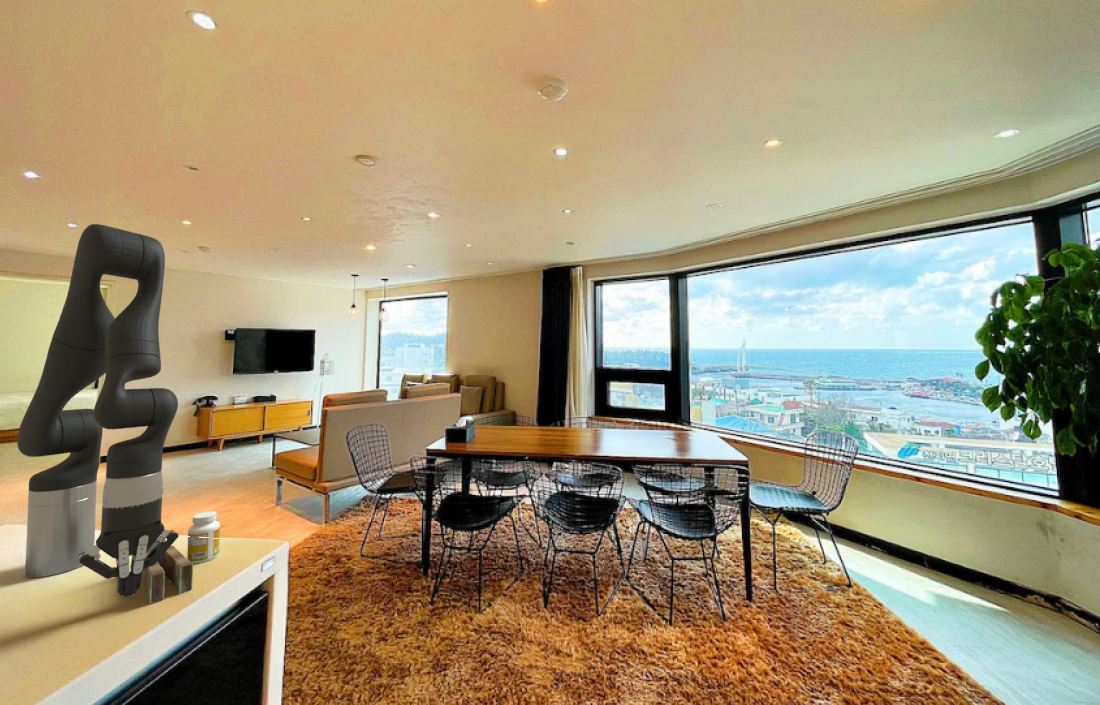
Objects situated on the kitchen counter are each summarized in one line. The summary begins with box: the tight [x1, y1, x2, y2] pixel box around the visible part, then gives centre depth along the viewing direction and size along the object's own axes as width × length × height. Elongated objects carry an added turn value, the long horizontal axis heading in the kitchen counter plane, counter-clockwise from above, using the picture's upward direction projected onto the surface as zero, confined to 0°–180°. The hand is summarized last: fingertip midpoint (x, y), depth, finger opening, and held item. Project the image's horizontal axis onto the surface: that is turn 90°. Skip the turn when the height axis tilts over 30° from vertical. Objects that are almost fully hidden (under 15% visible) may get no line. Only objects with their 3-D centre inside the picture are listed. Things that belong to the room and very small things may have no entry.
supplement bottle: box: [186, 511, 221, 564], centre depth 88 cm, size 5×5×10 cm
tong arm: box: [141, 551, 166, 604], centre depth 76 cm, size 13×2×5 cm, turn 52°
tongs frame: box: [146, 536, 194, 595], centre depth 79 cm, size 18×4×7 cm, turn 56°
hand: (128, 594), depth 71 cm, fingers closed
